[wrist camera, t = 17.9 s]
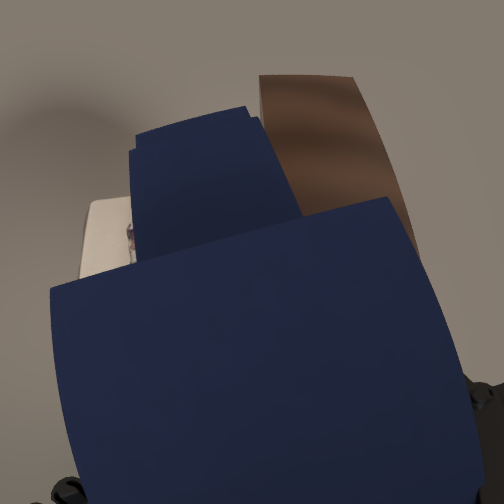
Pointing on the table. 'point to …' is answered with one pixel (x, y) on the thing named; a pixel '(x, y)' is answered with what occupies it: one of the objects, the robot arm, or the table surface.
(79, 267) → the table surface
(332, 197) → the brown box
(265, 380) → the blue blocks on base
